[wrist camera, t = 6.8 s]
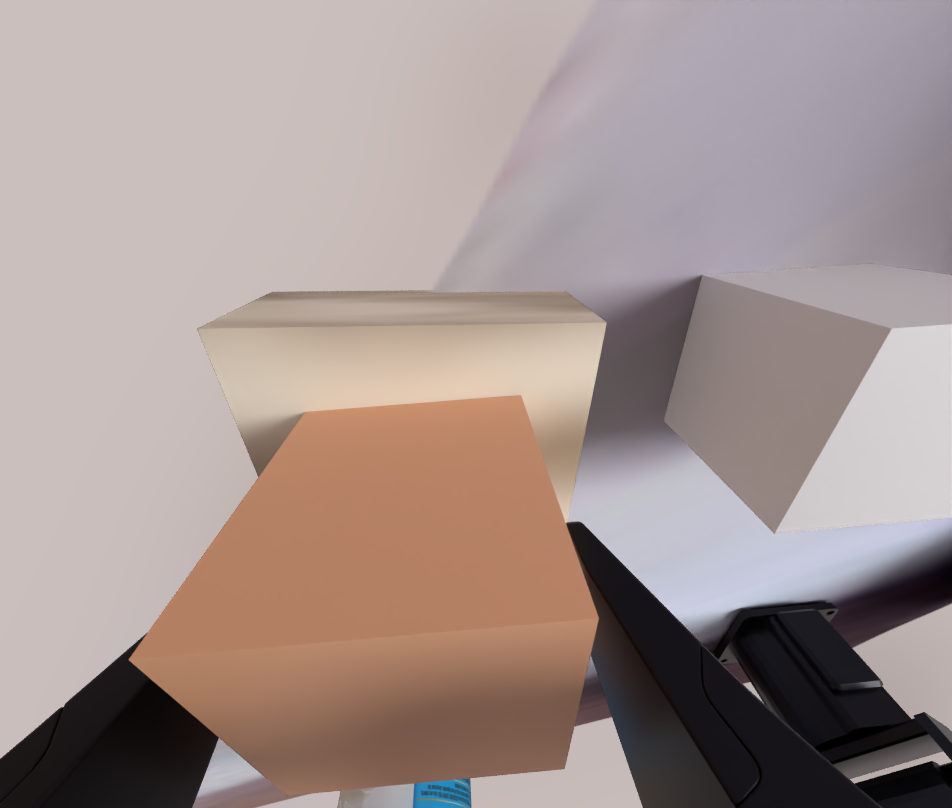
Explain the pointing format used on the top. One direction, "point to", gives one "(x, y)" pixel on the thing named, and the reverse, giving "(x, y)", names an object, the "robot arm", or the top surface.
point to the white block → (822, 393)
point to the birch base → (409, 361)
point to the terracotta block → (387, 605)
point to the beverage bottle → (410, 795)
